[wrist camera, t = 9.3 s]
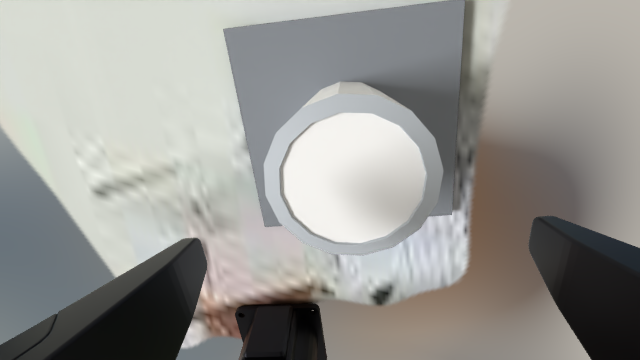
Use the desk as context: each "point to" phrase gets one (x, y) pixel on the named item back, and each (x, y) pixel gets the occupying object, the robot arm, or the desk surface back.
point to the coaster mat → (351, 74)
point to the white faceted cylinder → (353, 171)
